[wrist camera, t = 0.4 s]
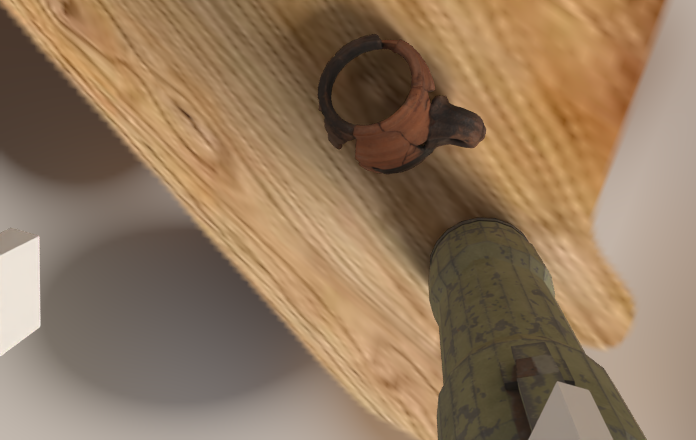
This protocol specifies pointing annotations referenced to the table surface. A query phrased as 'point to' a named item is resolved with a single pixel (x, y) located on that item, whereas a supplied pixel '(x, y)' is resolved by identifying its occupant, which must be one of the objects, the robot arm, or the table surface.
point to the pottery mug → (398, 115)
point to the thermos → (506, 338)
